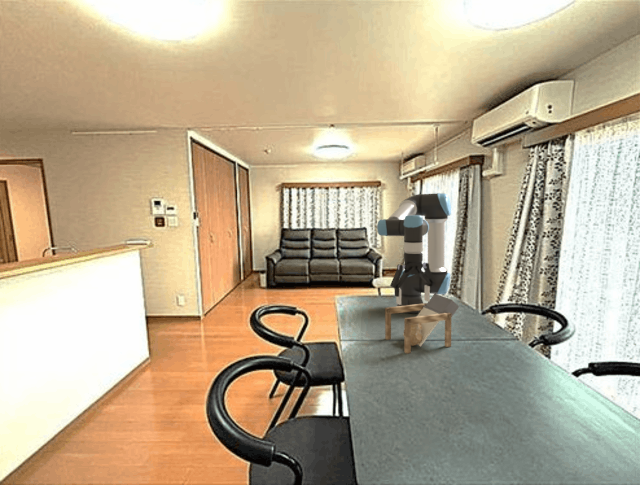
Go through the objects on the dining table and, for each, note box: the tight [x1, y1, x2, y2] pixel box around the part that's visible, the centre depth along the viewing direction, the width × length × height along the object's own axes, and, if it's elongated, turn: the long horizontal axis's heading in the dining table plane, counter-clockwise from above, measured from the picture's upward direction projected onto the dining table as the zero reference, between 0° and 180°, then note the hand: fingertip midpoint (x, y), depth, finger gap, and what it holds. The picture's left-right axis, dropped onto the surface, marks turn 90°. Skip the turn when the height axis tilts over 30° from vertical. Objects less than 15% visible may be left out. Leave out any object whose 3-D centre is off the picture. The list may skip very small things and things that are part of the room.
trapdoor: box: [402, 294, 460, 347], centre depth 154 cm, size 24×14×5 cm
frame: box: [384, 302, 453, 354], centre depth 152 cm, size 21×18×14 cm
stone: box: [411, 323, 423, 347], centre depth 150 cm, size 8×10×4 cm
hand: (413, 302), depth 150 cm, fingers open, 13 cm apart
